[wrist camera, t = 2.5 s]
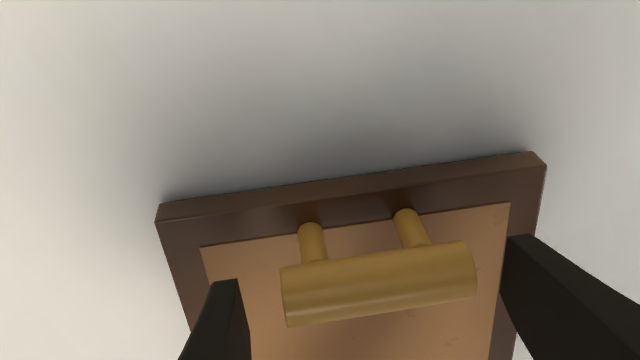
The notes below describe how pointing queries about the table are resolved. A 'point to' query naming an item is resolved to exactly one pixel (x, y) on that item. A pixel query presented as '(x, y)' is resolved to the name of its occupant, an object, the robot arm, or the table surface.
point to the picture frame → (363, 260)
